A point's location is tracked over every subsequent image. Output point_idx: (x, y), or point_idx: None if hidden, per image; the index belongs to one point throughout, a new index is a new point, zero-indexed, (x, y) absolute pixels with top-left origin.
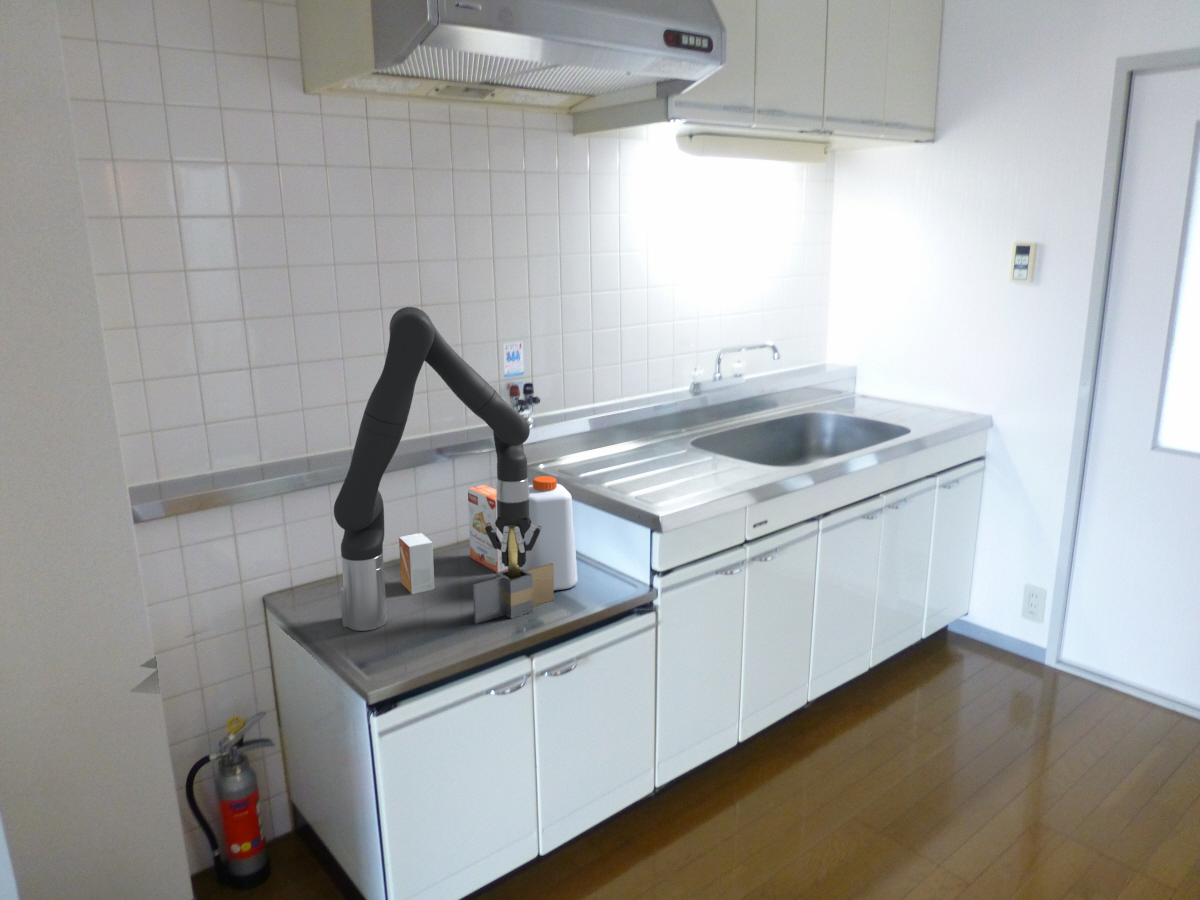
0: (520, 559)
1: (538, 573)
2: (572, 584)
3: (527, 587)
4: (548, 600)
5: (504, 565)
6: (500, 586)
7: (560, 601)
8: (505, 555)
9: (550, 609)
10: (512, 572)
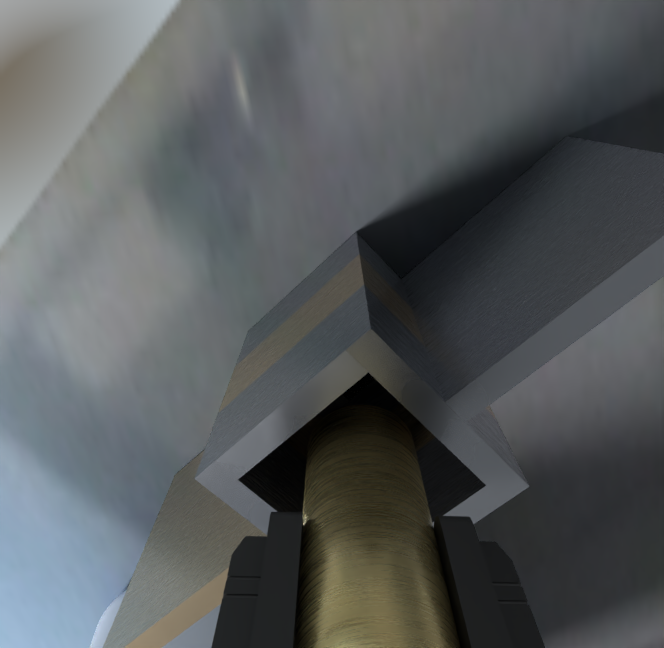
0: (277, 582)
1: (196, 563)
2: (108, 606)
3: (248, 391)
4: (194, 459)
5: (469, 519)
6: (462, 339)
7: (136, 464)
8: (486, 626)
9: (160, 373)
10: (371, 456)
